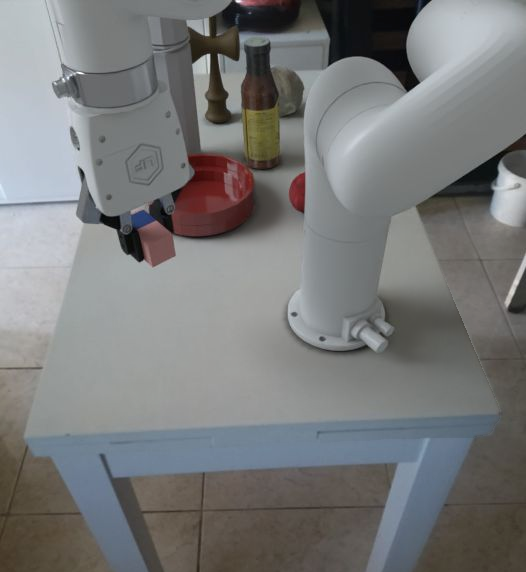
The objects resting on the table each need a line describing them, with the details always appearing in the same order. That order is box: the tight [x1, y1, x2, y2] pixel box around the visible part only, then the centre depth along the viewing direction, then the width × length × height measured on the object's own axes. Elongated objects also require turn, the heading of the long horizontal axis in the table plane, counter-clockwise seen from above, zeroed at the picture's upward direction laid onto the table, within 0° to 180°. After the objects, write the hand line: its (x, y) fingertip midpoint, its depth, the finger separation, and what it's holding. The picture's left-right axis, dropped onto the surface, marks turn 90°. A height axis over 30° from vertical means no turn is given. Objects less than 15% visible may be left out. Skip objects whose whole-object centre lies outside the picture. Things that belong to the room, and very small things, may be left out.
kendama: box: [187, 16, 241, 124], centre depth 104 cm, size 6×10×20 cm, turn 94°
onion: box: [288, 171, 305, 214], centre depth 87 cm, size 6×6×8 cm
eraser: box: [131, 208, 177, 268], centre depth 62 cm, size 6×3×3 cm, turn 39°
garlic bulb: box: [270, 65, 305, 118], centre depth 110 cm, size 9×8×10 cm
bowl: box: [145, 153, 256, 237], centre depth 90 cm, size 17×17×4 cm
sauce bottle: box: [240, 36, 281, 170], centre depth 94 cm, size 6×6×20 cm
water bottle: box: [147, 16, 202, 155], centre depth 92 cm, size 9×8×25 cm
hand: (149, 247), depth 63 cm, fingers closed on eraser, 3 cm apart
